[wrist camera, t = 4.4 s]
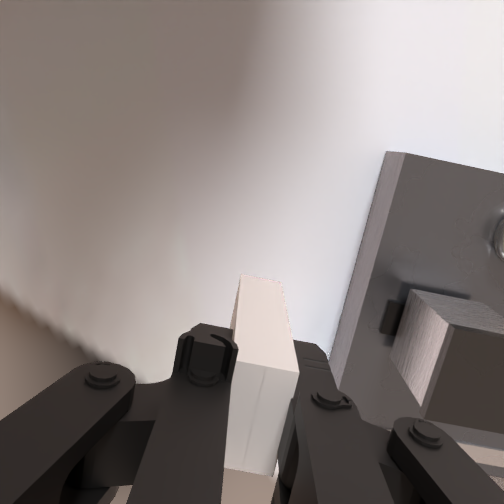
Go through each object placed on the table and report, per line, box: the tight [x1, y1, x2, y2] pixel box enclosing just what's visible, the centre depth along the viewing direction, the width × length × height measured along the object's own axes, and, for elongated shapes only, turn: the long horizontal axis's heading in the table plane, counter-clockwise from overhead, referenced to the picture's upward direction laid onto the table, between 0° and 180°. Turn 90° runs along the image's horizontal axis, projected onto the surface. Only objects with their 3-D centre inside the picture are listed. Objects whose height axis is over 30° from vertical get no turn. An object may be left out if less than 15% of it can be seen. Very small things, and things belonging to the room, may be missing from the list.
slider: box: [389, 288, 504, 434], centre depth 16 cm, size 3×3×4 cm
